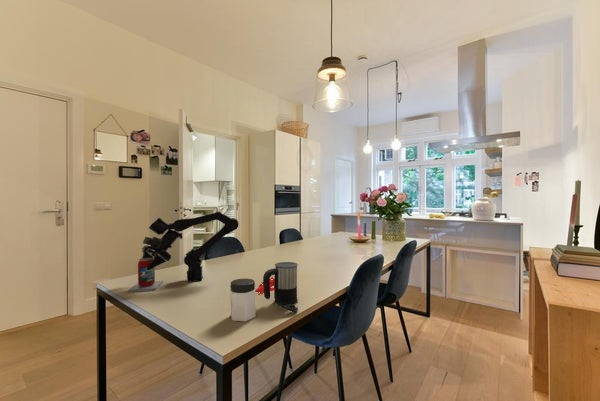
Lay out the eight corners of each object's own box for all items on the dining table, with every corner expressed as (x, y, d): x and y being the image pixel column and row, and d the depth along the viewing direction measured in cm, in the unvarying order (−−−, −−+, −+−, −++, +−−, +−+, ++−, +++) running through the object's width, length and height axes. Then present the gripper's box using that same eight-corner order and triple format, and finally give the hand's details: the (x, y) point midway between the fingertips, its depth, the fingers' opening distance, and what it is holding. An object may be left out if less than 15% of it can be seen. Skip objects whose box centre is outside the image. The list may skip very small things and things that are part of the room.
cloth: (269, 298, 116) (269, 293, 116) (240, 295, 121) (240, 289, 121) (292, 281, 140) (292, 276, 140) (267, 278, 145) (267, 274, 145)
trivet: (162, 282, 136) (162, 280, 136) (155, 290, 125) (155, 288, 125) (138, 284, 134) (137, 282, 134) (128, 292, 123) (128, 289, 123)
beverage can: (143, 288, 125) (142, 261, 125) (135, 285, 129) (134, 259, 129) (157, 284, 130) (157, 258, 130) (150, 281, 134) (149, 256, 134)
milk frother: (287, 296, 117) (287, 260, 117) (315, 306, 106) (315, 267, 106) (259, 305, 107) (259, 266, 107) (286, 317, 96) (286, 274, 96)
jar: (245, 309, 103) (245, 276, 103) (260, 315, 98) (260, 280, 98) (224, 317, 97) (224, 282, 96) (239, 324, 91) (239, 287, 91)
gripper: (146, 228, 138) (121, 255, 130) (163, 231, 126) (137, 260, 118) (162, 242, 144) (139, 268, 136) (181, 246, 133) (157, 275, 124)
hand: (143, 268), depth 128 cm, fingers open, 9 cm apart
